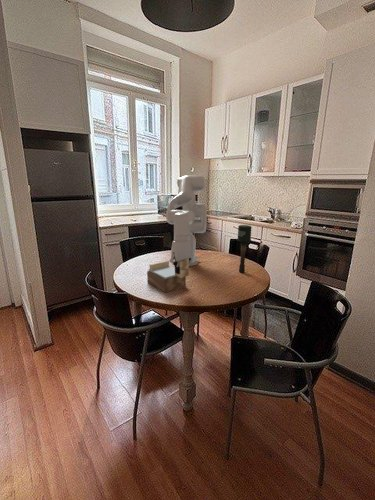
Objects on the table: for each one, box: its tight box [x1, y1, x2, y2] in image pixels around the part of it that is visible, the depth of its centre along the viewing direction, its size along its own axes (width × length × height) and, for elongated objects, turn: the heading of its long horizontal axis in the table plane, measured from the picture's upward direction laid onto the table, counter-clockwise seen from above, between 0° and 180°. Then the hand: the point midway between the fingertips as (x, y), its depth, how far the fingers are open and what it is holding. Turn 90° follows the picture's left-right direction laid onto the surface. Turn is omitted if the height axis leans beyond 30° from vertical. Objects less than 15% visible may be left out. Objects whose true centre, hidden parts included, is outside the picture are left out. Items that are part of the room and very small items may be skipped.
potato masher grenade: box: [236, 224, 253, 274], centre depth 157 cm, size 8×9×30 cm
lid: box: [147, 259, 176, 279], centre depth 139 cm, size 13×16×4 cm
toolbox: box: [146, 270, 187, 294], centre depth 140 cm, size 14×17×7 cm
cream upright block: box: [175, 259, 190, 278], centre depth 128 cm, size 5×5×10 cm
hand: (181, 271), depth 129 cm, fingers closed on cream upright block, 5 cm apart
